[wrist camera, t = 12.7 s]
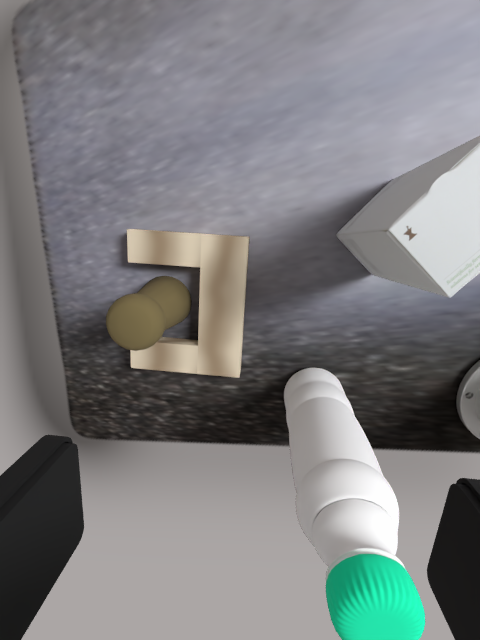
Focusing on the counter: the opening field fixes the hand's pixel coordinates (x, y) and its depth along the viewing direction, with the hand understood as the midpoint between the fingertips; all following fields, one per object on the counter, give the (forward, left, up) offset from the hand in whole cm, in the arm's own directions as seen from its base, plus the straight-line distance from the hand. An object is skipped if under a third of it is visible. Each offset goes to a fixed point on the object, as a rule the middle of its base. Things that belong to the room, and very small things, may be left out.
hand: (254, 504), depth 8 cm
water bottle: (-7, +12, -31) cm, 34 cm away
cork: (+11, +2, -31) cm, 33 cm away
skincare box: (-12, -8, -31) cm, 34 cm away
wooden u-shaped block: (+8, +2, -30) cm, 32 cm away
